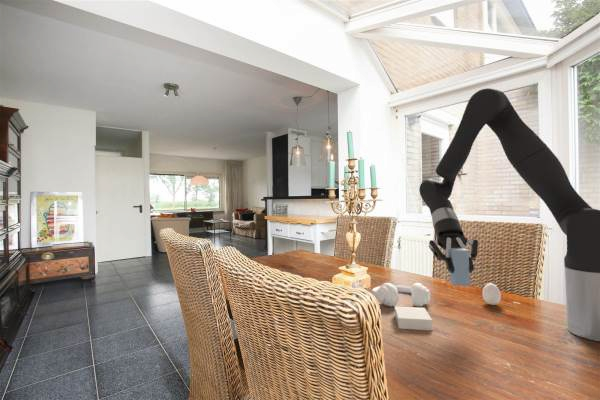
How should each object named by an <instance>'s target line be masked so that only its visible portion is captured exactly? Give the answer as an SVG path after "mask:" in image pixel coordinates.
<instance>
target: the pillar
mask: <svg viewBox="0 0 600 400" xmlns="http://www.w3.org/2000/svg"><path fill="white" fill-rule="evenodd" d="M449 252H450V258H451V259H452V262H453V266H454V268H455V271H454V273H451V272H450V271H449V281H450V283H451V284H452V285H453V286H455V287H471V276H470V275H471V273H470V272H469V254H470V252H469V249H468V248H467V249H465V248H449ZM468 252H469V253H468Z"/></svg>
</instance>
